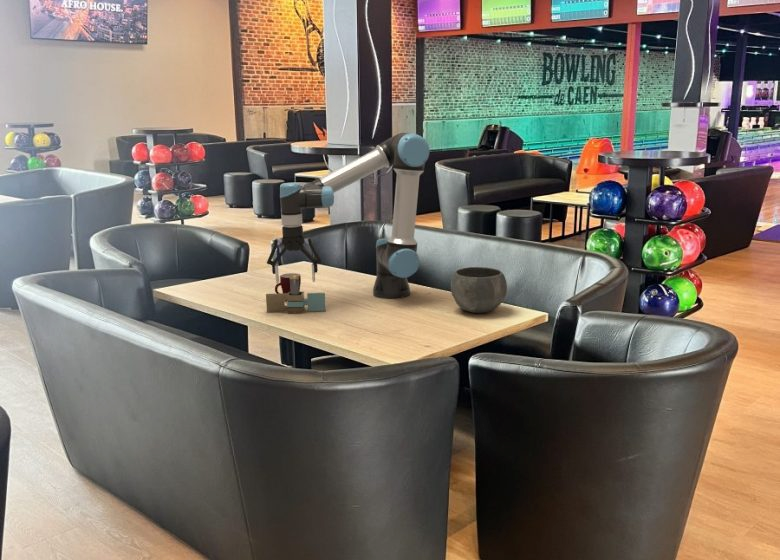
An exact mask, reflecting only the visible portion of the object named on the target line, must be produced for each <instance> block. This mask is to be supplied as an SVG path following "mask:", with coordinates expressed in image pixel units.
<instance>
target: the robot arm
mask: <svg viewBox="0 0 780 560" xmlns="http://www.w3.org/2000/svg"><path fill="white" fill-rule="evenodd" d="M429 156H430V147H429V144H428V142H427V140H426V139H425V138H424V137H423V136H421V135H419V134H417V133H409V132H399V133H397V134H395V135H392V137H389V138H388V139H386V140H384V141H383V142H380V144H379V143H378V144H377V145H376V147H375V149H374V150H372V151H369V152H367V153H365V154H364V155H362V156H360V157H358V158H356V159H353V160H351V162H348V163H346V164H344V165H342V166H340V167H339V168H337V169H335V170H333V171H330V172H328V173H327V174H325V175H323V176H321V177H319V178H318V179H315V180H313V181H311V182H310V181H309V182H307V183H305V184H303V185H302V187H301V184H300V183H299V182H286V183H282V184H280V186H279V203H280V213H281V214H280V215H281V225H282V227H281V230H282V233H281V234H282V239H279V238H277V237H276V238H275V239H274V241H273V246H272V249H271V252H270V254H269V256H268V258H267V261H266V264H267V265H271V270H272V271H271V272H272V274H273V275H275V283H276V284H278V283H280V274H279V264H277V263H278V261H280V259H281V257H283V255H284V254H285V253H286V251H289V252H292V251H295V252H296V251H297V252H298V251H299V250H300V252H302V253H303V254H304V255H305V256H306V257H307V258H308V260H310V261H311V275H312V283H315V282H316V274H317V273H318V271H319V270H318V264H320V263H322V262H323V259H322V257H321V254H320V253H319V251H318V250H317V248H316V247H315V244H314V243H313V239H312V237H310V236H309V237H307V238H305V237H304V229H303V225H302V224H303V211H302V210H304V209H316V208H324V209H325V208H328V207H329V208H330V207H333V206H334V202H335V193H337V192H339V191H341V190H342V189H344V188H347V187H348V186H351V185H353V184H354V183H356V182H359V181H360V180H362V179H364V178H366V177H367V176H370V175H372V174H374V173H375V172H378V170H381V169H384V168H388V169H389V168H390V167H393V170H394V172H395V174H396V179H395V180H396V181H395V192H394V204H393V205H394V206H393V215H392V216H393V217H392V226H391V227H392V229H391V236H390V237H387V238H386V237H385V238H379V239H377V240H376V243H375V250H376V251H375V252H376V253H375V254H376V255H375V256H376V258H375V259H376V277H375V282H374V284H373V288H372V295H373V296H374V297H377V298H382V299H399V298H405V297H407V296H409V295H410V294H411V288H410V287H411V286H410V285H409V281H408V278H409V277H411V276H413V275H414V274H415V273H417V271H418V269H419V266H420V258H419V255H418V253H417V252H418V241H417V240H416V239H415V231H416V230H415V229H416V217H417V209H418V208H417V206H418V197H419V185H420V184H419V183H420V176H421V175H422V174H423V173H424V172H425V165H426V162H427V161H428V159H429ZM304 243H306V244H307V245H308V247H310V249H311V252H312V253H313V255H314V256H313V255H312V254H311V253H310V252H309V251H308V249H306V247H305V246H304ZM280 244H282V245H283V246H284V247H282V250H281V251H280V252H279V254H278V255H277V256H276V257H275V258H274V260H273V257H274V255H275V253H276V251H277V248H278V246H280Z"/></svg>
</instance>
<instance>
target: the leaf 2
mask: <svg viewBox="0 0 780 560" xmlns="http://www.w3.org/2000/svg"><path fill="white" fill-rule="evenodd" d="M286 301H287V300H286ZM304 305H305V306H307V311H308V312H319V311H320V312H322V311H323V312H325V311H327V310H326V309H327V307H326V306H327V305H326V292H307V293H306V299H305V298H304V299H303V301H299V302H291V301H287V302H286V306H287V307H303V306H304Z"/></svg>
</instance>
